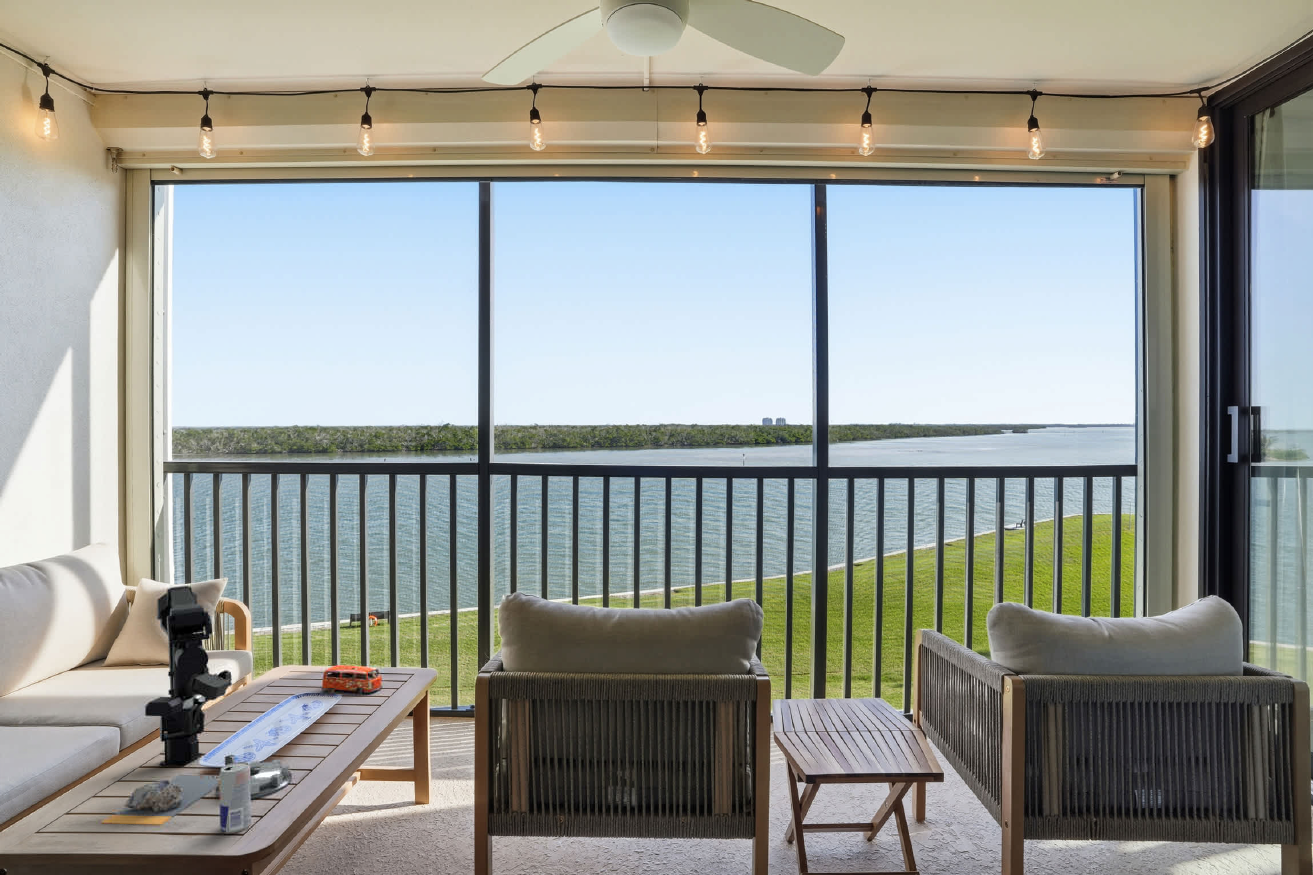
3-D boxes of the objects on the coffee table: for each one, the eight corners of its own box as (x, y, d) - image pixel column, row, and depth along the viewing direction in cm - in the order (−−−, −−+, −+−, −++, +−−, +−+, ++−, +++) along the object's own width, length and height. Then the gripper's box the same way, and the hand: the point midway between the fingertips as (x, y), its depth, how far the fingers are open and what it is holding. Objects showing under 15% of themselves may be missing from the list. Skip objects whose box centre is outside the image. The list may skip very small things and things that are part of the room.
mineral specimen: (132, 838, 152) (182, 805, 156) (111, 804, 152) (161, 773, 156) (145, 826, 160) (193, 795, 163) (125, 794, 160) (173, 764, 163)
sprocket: (266, 796, 161) (265, 763, 161) (203, 795, 161) (203, 762, 162) (301, 768, 174) (301, 737, 175) (243, 767, 175) (243, 737, 176)
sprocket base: (199, 800, 161) (199, 782, 161) (244, 770, 176) (244, 754, 176) (265, 802, 160) (265, 784, 160) (305, 771, 175) (304, 755, 175)
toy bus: (334, 685, 240) (334, 662, 240) (385, 688, 236) (384, 664, 236) (319, 692, 233) (319, 668, 233) (371, 696, 229) (371, 671, 229)
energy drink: (228, 821, 152) (227, 761, 152) (255, 819, 152) (254, 760, 152) (214, 834, 146) (214, 773, 147) (243, 833, 147) (242, 771, 147)
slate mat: (101, 823, 152) (101, 822, 152) (180, 775, 174) (180, 774, 174) (160, 824, 151) (160, 823, 151) (232, 776, 173) (232, 775, 173)
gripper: (191, 677, 158) (192, 751, 158) (248, 653, 176) (249, 719, 176) (142, 676, 159) (143, 750, 159) (204, 652, 178) (205, 718, 177)
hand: (188, 733), depth 168 cm, fingers closed
